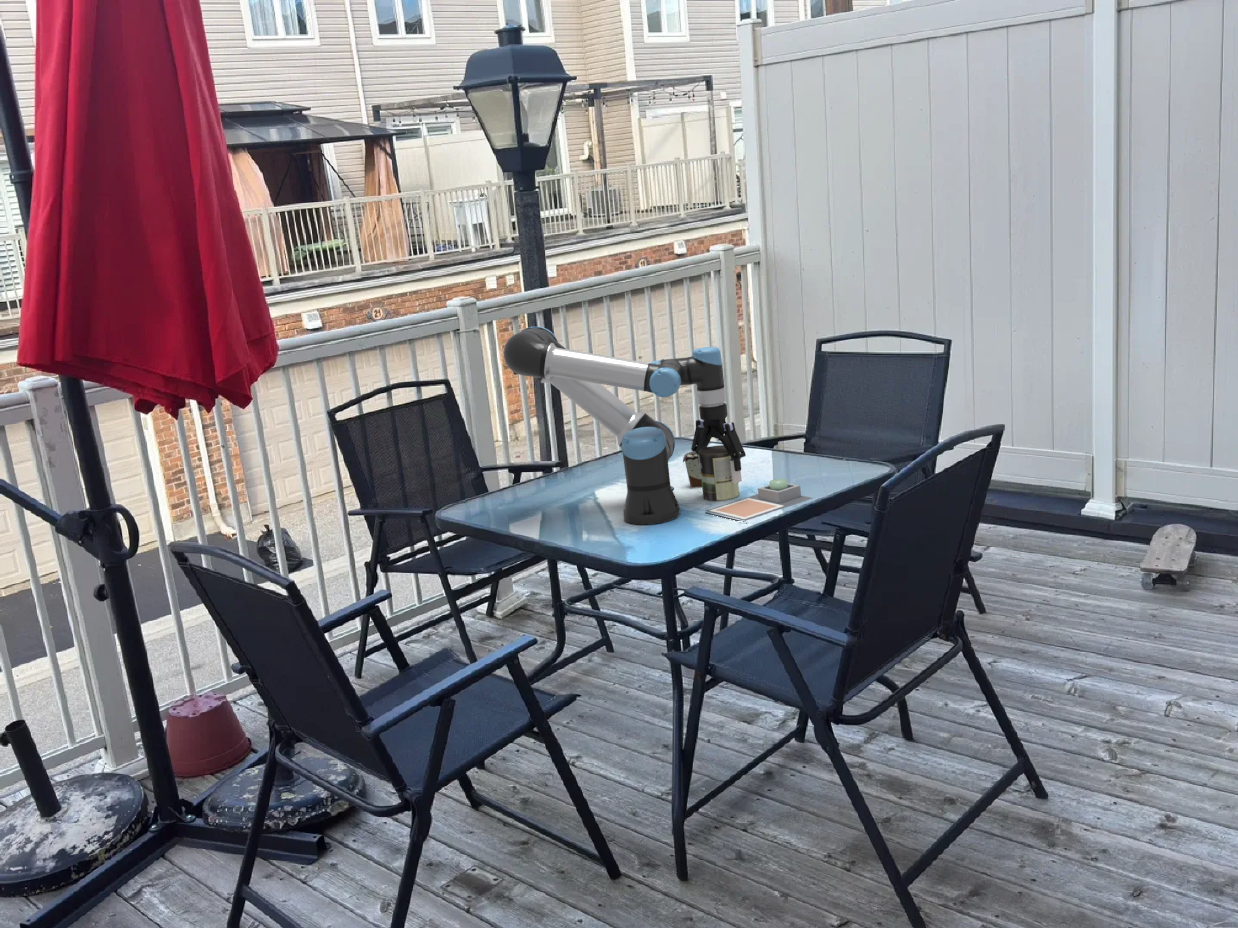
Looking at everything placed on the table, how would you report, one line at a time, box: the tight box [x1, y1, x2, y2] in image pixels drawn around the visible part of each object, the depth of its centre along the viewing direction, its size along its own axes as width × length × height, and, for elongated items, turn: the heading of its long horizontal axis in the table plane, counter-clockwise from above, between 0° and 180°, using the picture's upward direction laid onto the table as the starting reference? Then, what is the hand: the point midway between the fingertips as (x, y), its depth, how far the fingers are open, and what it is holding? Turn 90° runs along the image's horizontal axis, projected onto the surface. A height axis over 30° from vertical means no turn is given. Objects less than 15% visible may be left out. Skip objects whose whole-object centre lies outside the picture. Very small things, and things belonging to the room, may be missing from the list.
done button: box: [769, 478, 789, 491], centre depth 292 cm, size 5×5×3 cm
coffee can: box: [698, 444, 740, 502], centre depth 300 cm, size 10×10×14 cm
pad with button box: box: [705, 482, 813, 522], centre depth 289 cm, size 24×16×4 cm, turn 125°
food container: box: [682, 450, 702, 489], centre depth 318 cm, size 12×6×10 cm, turn 84°
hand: (720, 479), depth 300 cm, fingers open, 13 cm apart
